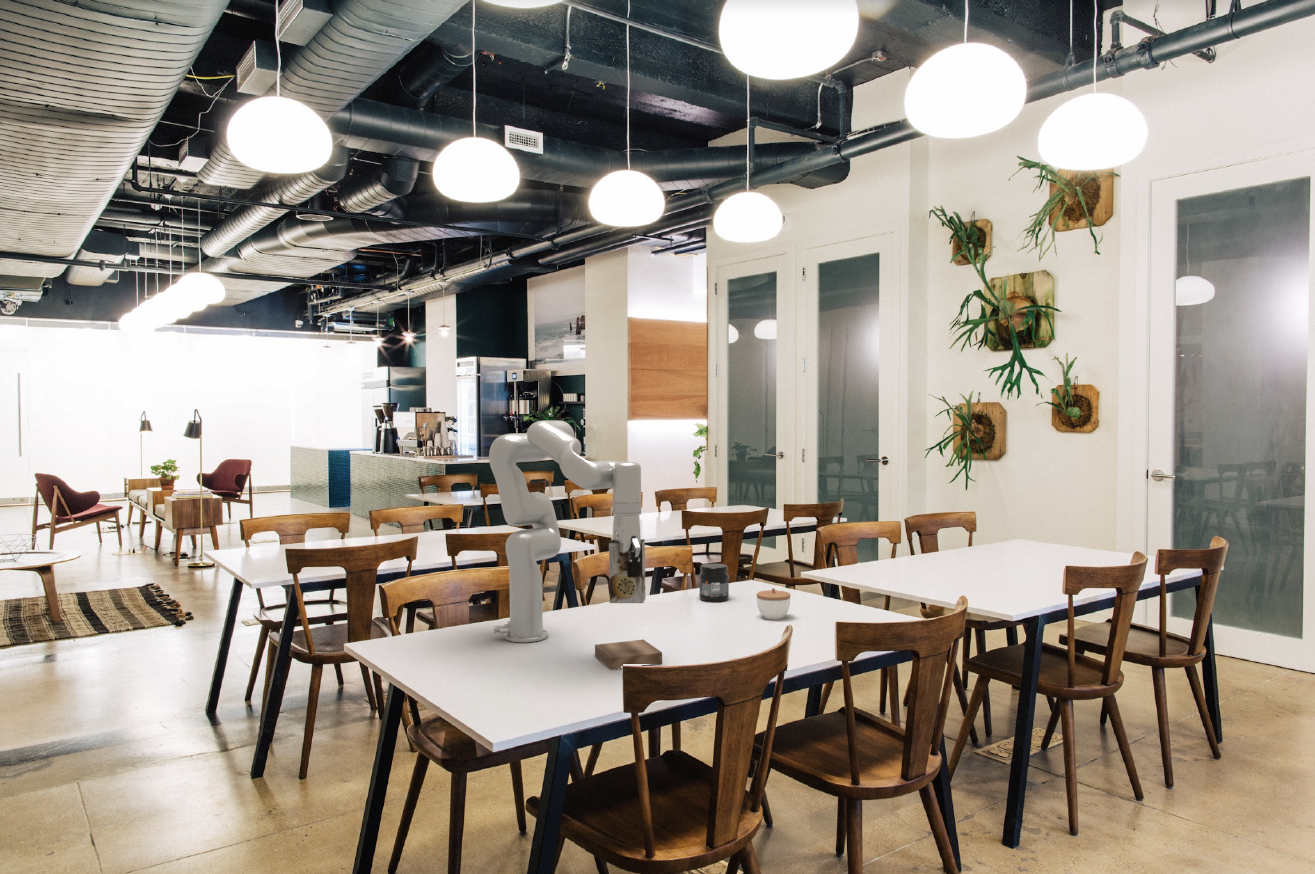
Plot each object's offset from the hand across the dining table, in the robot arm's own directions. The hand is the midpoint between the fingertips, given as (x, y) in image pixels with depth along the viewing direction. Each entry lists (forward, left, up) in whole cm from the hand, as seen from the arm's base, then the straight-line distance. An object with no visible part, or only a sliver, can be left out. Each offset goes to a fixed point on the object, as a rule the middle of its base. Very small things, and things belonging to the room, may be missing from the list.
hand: (627, 573), depth 223 cm
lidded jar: (+59, +27, -23) cm, 69 cm away
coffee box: (0, 0, -7) cm, 7 cm away
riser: (0, 0, -23) cm, 23 cm away
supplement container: (+53, +59, -23) cm, 83 cm away
